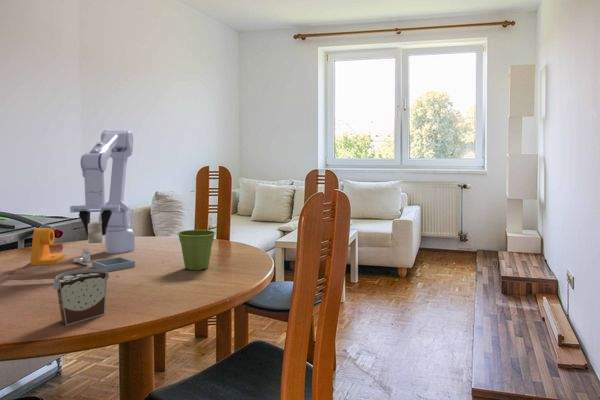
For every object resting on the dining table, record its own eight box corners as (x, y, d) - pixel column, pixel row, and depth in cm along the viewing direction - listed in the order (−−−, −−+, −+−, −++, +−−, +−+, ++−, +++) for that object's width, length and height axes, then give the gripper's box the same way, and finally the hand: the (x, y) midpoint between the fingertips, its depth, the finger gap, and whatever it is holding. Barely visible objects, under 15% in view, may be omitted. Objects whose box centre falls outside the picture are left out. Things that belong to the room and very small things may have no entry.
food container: (94, 308, 122) (92, 265, 121) (110, 312, 119) (109, 269, 118) (43, 322, 112) (40, 276, 111) (59, 327, 109) (57, 280, 108)
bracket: (55, 268, 164) (53, 230, 163) (31, 269, 163) (29, 230, 162) (66, 261, 174) (65, 225, 173) (43, 261, 174) (42, 225, 172)
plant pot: (183, 274, 156) (182, 236, 154) (173, 266, 166) (172, 231, 165) (221, 269, 161) (221, 233, 160) (209, 262, 171) (209, 228, 170)
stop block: (88, 243, 163) (87, 224, 162) (91, 240, 167) (90, 222, 166) (102, 243, 163) (101, 224, 163) (104, 240, 167) (103, 222, 167)
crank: (71, 261, 166) (70, 246, 166) (81, 260, 168) (80, 245, 168) (83, 266, 160) (83, 250, 159) (93, 264, 162) (92, 249, 161)
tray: (121, 266, 166) (120, 256, 166) (135, 270, 160) (134, 261, 160) (92, 270, 160) (92, 261, 160) (106, 275, 154) (105, 265, 153)
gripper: (66, 193, 159) (68, 237, 160) (116, 192, 161) (118, 236, 162) (72, 191, 166) (74, 234, 167) (120, 190, 168) (122, 232, 169)
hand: (96, 234), depth 165 cm, fingers closed on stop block, 4 cm apart
